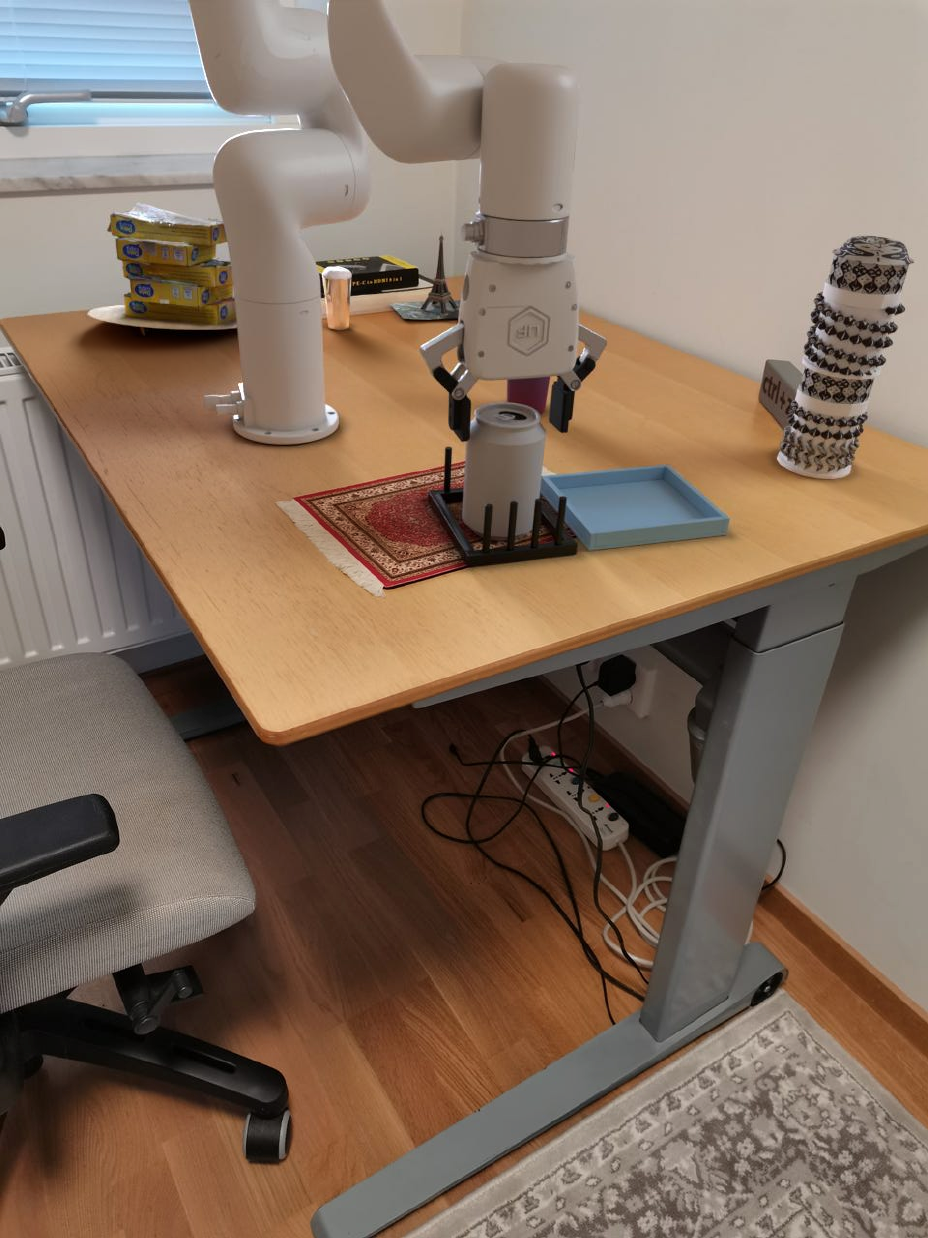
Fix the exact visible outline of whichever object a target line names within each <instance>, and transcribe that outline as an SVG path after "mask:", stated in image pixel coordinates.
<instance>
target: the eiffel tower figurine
mask: <svg viewBox="0 0 928 1238" xmlns="http://www.w3.org/2000/svg"><path fill="white" fill-rule="evenodd" d="M438 241H439V243H438V244H439V245H438V246H439V247H438V256H437V265H436V273H435V278H433V279H434V281H433V285H432V288H431V291H430V292H428V294H427V297H426V298H425V300H422V301H405V302H393V303H389V304H390V306H391V307H392V308H393V310H395V311H396V312H397V313H398V315H399V316H401V318H402V319H406V320H407V319H409V320H441V319H443V320H448V319H459V309H460V301H461V299H457V300H455V299H453V297H452V292H451V291H449V289H448V284H447V281H446V280H447V278H446V275H445V265H444V236H443V229H442V228H441V231H440V236H439V238H438Z"/></svg>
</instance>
